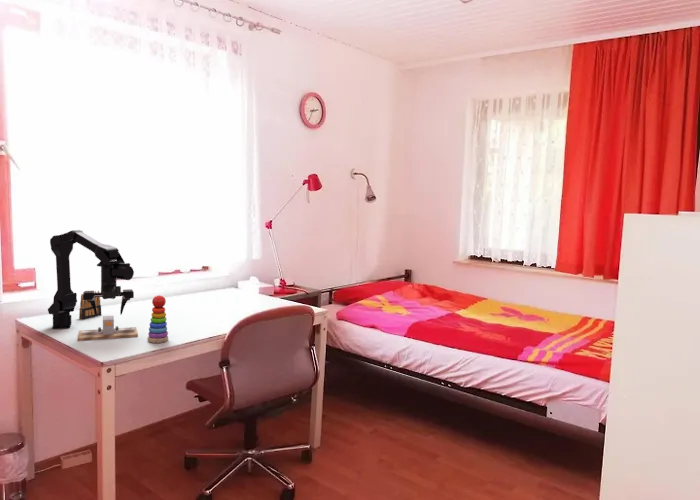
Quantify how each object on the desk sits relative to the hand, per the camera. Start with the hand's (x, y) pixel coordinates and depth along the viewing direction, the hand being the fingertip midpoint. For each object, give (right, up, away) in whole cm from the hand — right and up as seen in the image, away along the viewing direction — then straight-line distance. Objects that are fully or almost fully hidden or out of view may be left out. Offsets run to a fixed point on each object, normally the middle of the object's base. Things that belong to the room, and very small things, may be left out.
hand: (108, 315), depth 213 cm
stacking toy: (+22, -10, -4) cm, 24 cm away
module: (-1, -7, +1) cm, 7 cm away
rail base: (-1, -8, +1) cm, 8 cm away
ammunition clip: (-21, -5, +27) cm, 35 cm away
